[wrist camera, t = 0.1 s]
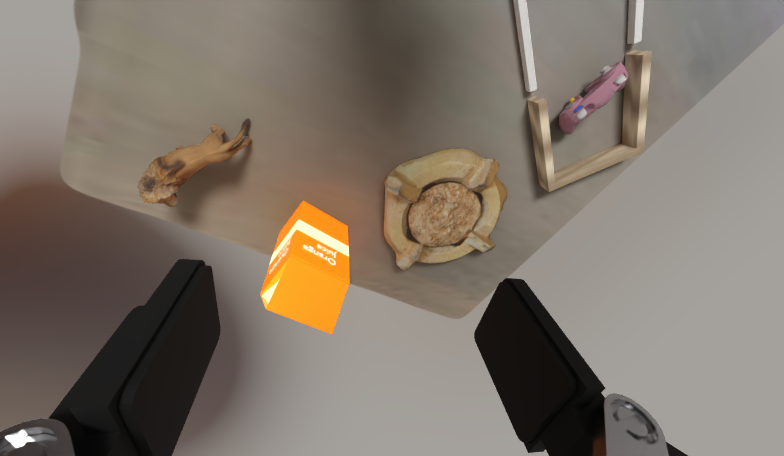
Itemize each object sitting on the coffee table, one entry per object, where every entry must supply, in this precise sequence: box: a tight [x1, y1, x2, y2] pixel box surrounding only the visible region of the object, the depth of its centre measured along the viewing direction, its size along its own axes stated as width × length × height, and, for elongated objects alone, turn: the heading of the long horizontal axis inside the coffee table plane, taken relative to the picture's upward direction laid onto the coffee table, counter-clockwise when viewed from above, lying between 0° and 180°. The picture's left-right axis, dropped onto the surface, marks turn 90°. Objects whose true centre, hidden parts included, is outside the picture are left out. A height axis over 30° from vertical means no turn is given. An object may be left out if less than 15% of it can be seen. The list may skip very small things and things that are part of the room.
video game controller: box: [559, 62, 628, 134], centre depth 43 cm, size 10×5×7 cm, turn 137°
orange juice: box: [261, 201, 350, 334], centre depth 43 cm, size 8×9×20 cm
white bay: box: [513, 0, 644, 92], centre depth 39 cm, size 14×16×1 cm
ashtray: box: [384, 149, 507, 271], centre depth 51 cm, size 24×24×5 cm
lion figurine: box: [137, 118, 251, 207], centre depth 38 cm, size 15×5×9 cm, turn 122°
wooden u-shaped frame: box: [527, 50, 652, 192], centre depth 47 cm, size 15×16×3 cm
